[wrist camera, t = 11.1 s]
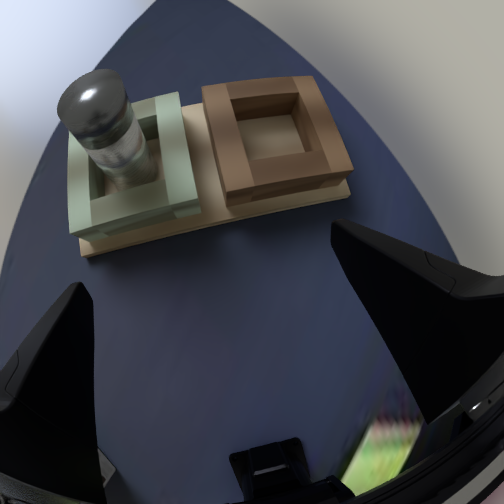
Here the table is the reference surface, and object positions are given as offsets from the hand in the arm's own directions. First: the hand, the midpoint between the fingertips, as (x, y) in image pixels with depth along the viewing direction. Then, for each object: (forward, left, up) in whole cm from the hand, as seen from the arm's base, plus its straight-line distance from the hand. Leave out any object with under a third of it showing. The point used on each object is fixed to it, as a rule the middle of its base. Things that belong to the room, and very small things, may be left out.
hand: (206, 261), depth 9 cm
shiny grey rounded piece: (+10, +5, -13) cm, 17 cm away
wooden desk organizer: (+11, -1, -14) cm, 17 cm away
